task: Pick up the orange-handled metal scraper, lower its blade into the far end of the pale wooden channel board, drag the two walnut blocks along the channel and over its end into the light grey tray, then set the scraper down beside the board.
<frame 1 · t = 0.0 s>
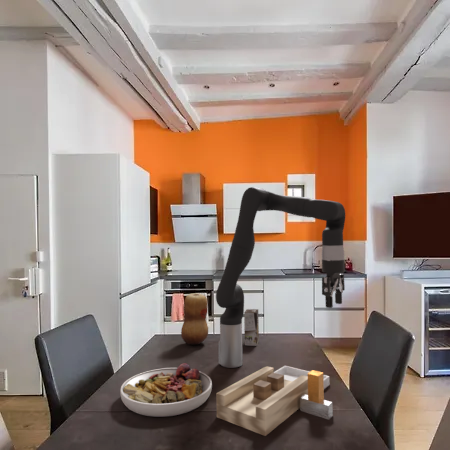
hand: (334, 305, 125), 29 cm above the table, tool pointing down, fingers open, 8 cm apart
butternut squash: (195, 344, 181), on the table
tray: (297, 384, 130), on the table
scraper: (316, 413, 109), on the table
chip b: (275, 388, 118), point 4 cm above the table, touching channel board
bowl: (167, 399, 121), on the table
coffee box: (251, 343, 182), on the table
channel board: (266, 407, 113), on the table
chip a: (262, 396, 112), point 4 cm above the table, touching channel board
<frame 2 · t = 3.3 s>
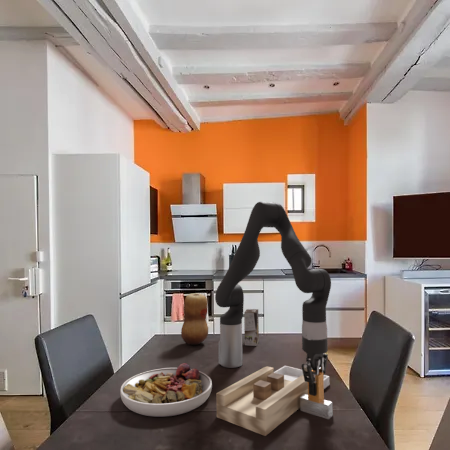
hand: (315, 392, 110), 6 cm above the table, tool pointing down, fingers closed on scraper, 3 cm apart
scraper: (316, 413, 109), on the table, touching gripper
everything else where it was.
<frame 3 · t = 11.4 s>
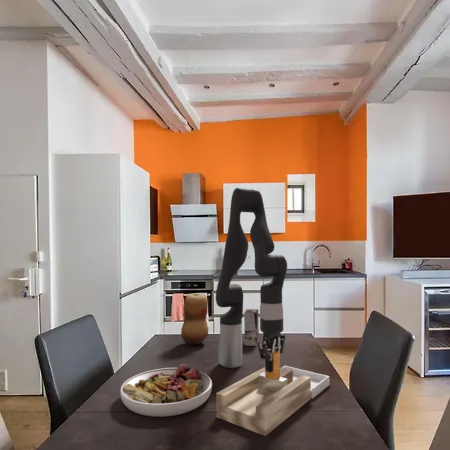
hand: (272, 369, 117), 10 cm above the table, tool pointing down, fingers closed on scraper, 3 cm apart
scraper: (272, 389, 117), point 4 cm above the table, touching chip a, gripper
chip b: (284, 382, 123), point 4 cm above the table, touching channel board, chip a
chip a: (279, 386, 119), point 4 cm above the table, touching chip b, scraper
everything else where it was.
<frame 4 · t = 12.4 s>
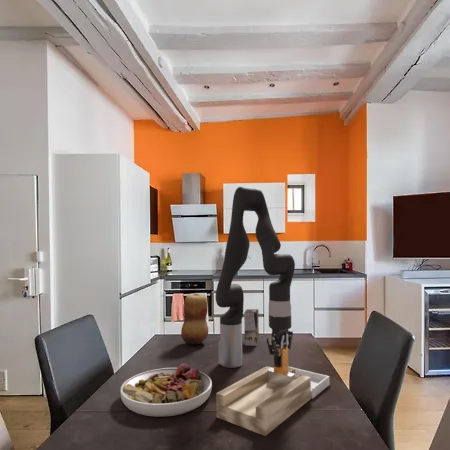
hand: (280, 364, 121), 10 cm above the table, tool pointing down, fingers closed on scraper, 3 cm apart
scraper: (281, 384, 121), point 4 cm above the table, touching gripper
chip b: (291, 382, 126), point 3 cm above the table, tilted 90°, touching tray
chip a: (287, 381, 124), point 4 cm above the table
everything else where it was.
when the fingers open (7 cm above the table, at t = 20.4 s): scraper stays where it is, on the table.
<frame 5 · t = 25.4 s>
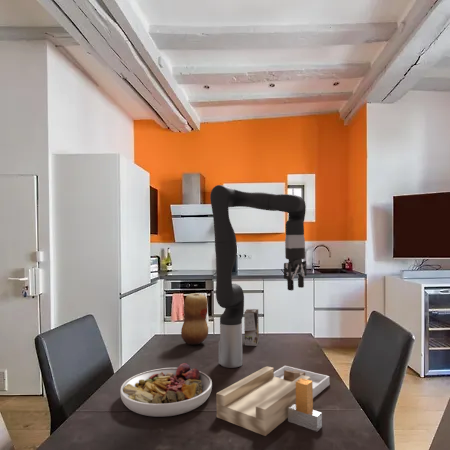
hand: (295, 288, 140), 33 cm above the table, tool pointing down, fingers open, 8 cm apart
scraper: (304, 424, 103), on the table
chip b: (295, 379, 128), point 3 cm above the table, tilted 90°, touching chip a, tray
chip a: (290, 383, 126), point 2 cm above the table, tilted 15°, touching chip b, tray
everything else where it was.
at the end: chip a inside the target area (4.8 cm from its centre), point 2.1 cm above the table; chip b inside the target area (2.1 cm from its centre), point 2.6 cm above the table; scraper inside the target area (0.4 cm from its centre), on the table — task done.
